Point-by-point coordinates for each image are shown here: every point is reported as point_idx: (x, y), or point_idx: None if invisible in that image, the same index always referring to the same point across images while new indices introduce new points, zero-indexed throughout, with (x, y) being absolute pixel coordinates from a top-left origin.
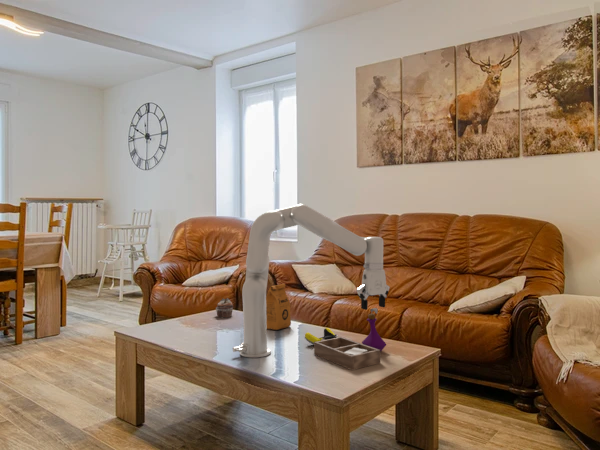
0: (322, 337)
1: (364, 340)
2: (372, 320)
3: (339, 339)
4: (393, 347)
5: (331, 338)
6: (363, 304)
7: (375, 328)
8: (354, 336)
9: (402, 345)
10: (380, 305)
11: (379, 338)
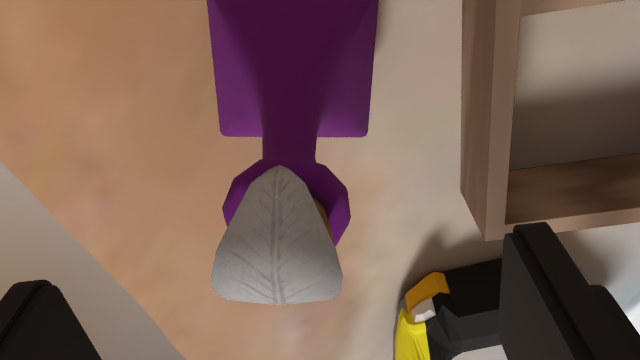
0: None
1: (359, 119)
2: (312, 166)
3: (512, 216)
4: (99, 61)
5: (469, 300)
6: (632, 337)
7: (272, 115)
8: (237, 345)
9: (4, 75)
10: (83, 357)
11: (261, 29)
